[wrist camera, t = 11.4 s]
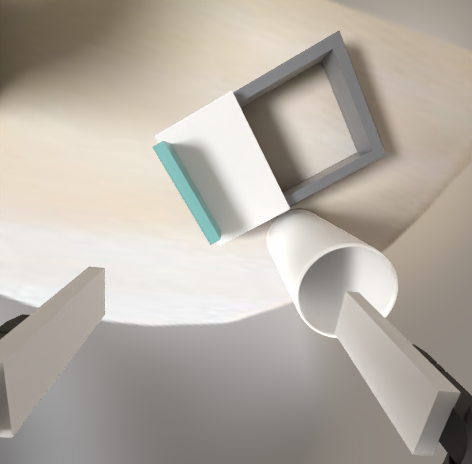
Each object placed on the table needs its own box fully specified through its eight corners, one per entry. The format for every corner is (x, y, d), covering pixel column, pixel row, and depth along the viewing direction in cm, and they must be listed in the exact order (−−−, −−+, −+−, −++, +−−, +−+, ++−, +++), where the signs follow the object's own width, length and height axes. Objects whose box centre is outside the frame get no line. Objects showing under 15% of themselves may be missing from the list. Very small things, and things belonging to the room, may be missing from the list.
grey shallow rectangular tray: (164, 140, 33) (156, 137, 29) (326, 45, 31) (339, 30, 27) (219, 235, 36) (219, 243, 32) (369, 156, 34) (386, 155, 30)
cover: (156, 137, 29) (143, 132, 25) (231, 92, 28) (232, 79, 24) (218, 244, 32) (217, 256, 28) (288, 207, 31) (298, 214, 27)
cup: (335, 218, 36) (416, 259, 20) (313, 273, 38) (373, 348, 22) (277, 201, 35) (317, 231, 20) (259, 258, 37) (281, 325, 21)
